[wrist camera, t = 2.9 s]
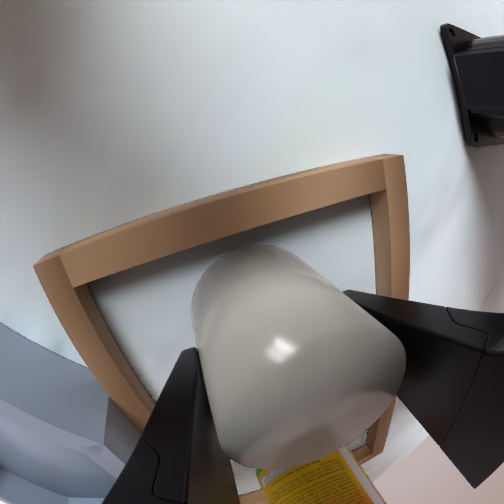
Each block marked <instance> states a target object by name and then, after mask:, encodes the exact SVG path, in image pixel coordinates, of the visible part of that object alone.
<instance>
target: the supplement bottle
mask: <svg viewBox="0 0 504 504" xmlns="http://www.w3.org/2000/svg"><path fill="white" fill-rule="evenodd" d="M255 472H256V475H257V478H258V480H259V483H260V485H261V488H262V491H263V493H264V495H265V498H266V500H267V503H268V504H387V503H386V502H385V501H384V499H383V498H382V496H381V495H380V493H379V492H378V491H377V489H376V488H375V486H374V485H373V483H372V482H371V481H370V479H369V478H368V476H367V475H366V473H365V472H364V470H363V469H362V467H361V466H360V465H359V463H358V462H357V460H356V459H355V457H354V456H353V454H352V452H351V451H350V449H349V448H348V447H347V445H346V446H344V447H342V448H340V449H339V450H337V451H335V452H333V453H331V454H329V455H327V456H325V457H323V458H320V459H318V460H315V461H312V462H309V463H306V464H303V465H299V466H295V467H290V468H283V469H257V468H255Z"/></svg>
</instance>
